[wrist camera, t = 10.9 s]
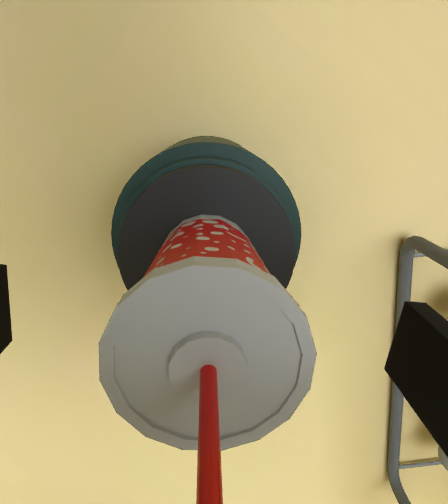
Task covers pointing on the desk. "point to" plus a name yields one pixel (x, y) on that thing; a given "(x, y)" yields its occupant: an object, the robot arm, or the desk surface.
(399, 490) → the newton's cradle
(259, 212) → the green lidded canister
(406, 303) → the robot arm
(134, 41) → the desk surface
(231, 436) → the beverage cup
